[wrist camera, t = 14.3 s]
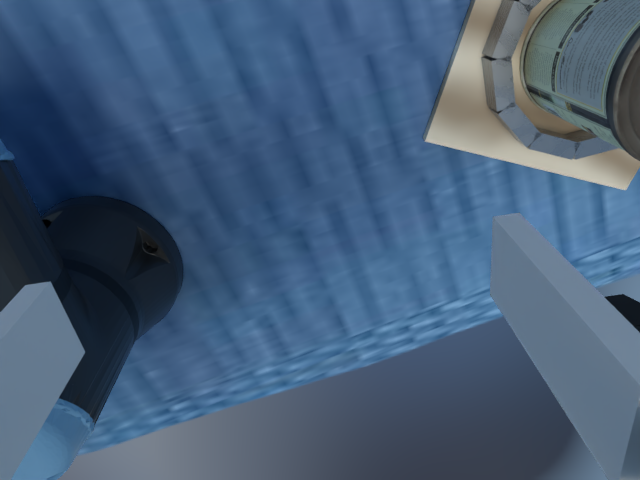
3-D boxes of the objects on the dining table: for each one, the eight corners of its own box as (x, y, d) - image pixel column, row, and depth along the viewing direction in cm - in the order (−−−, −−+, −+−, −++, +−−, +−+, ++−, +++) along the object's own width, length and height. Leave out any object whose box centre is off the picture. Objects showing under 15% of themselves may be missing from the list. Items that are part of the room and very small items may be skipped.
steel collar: (617, 165, 43) (634, 175, 41) (454, 124, 41) (462, 132, 39) (729, -30, 36) (756, -32, 34) (536, -92, 34) (552, -97, 32)
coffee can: (666, -19, 36) (853, -24, 24) (624, 116, 41) (760, 172, 28) (532, -20, 36) (650, -26, 23) (506, 116, 41) (592, 171, 28)
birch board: (619, 186, 45) (625, 190, 44) (422, 138, 43) (425, 141, 42) (758, -52, 36) (769, -53, 35) (517, -131, 33) (523, -134, 33)
